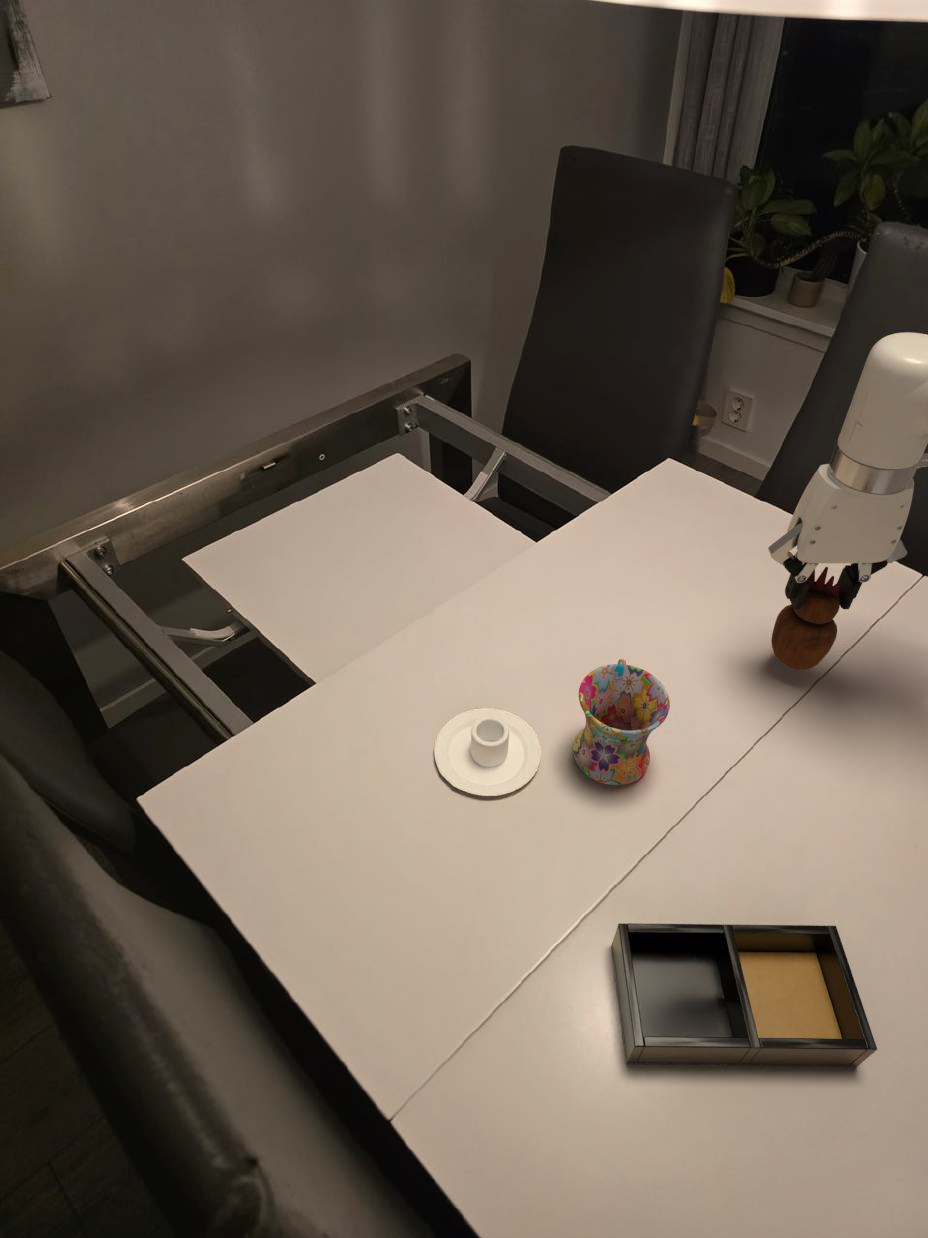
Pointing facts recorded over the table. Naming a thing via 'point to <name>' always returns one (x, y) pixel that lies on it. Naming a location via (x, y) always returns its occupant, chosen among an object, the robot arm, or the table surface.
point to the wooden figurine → (808, 625)
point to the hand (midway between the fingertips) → (817, 599)
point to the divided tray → (738, 996)
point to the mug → (618, 722)
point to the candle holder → (487, 752)
